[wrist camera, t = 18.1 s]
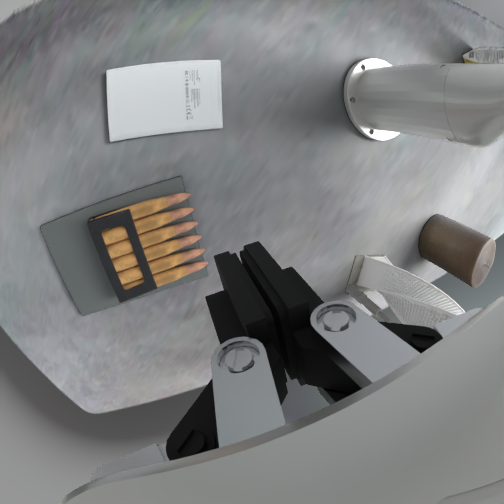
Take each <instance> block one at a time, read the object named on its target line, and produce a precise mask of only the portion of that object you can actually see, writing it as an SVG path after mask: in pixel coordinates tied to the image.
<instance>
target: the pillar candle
mask: <svg viewBox="0 0 504 504" xmlns="http://www.w3.org/2000/svg"><path fill="white" fill-rule="evenodd" d="M495 246H496V244H495V240H494V239H492V238H490V237H488V236H486V235H484V234H482V233H480V232H478V231H476V230H474V229H471V228H469V227H467V226H465V225H463V224H461V223H459V222H456V221H454V220H452V219H449V218H447V217H445V216H443V215H439V214H437V215H434V216H432V217H431V218H430V219H429V220H428V222H427V223H426V225H425V227H424V229H423V231H422V233H421V236H420V240H419V252H420V255H421V257H424V258H425V259H427V260H428V261H430V262H432V263H434V264H435V265H437V266H439V267H440V268H442V269H444V270H445V271H447V272H448V273H451V274H452V275H454V276H455V277H457V278H459V279H460V280H462V281H463V282H465V283H466V284H468V285H470V286H471V287H473V288H476V287H478V286H479V285H480V284H481V283H482V282H483V281H484V279H485V278H486V276H487V274H488V272H489V270H490V268H491V266H492V263H493V260H494V256H495V249H496V247H495Z"/></svg>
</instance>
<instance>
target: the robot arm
mask: <svg viewBox="0 0 504 504" xmlns="http://www.w3.org/2000/svg"><path fill="white" fill-rule="evenodd" d="M344 102H345V106H346V110H347V113H348V115H349V118H350V120H351V121H352V123H353V124H354V126H355V127H356V128H357V129H358V131H359V132H361V133H362V134H363V135H364V136H366V137H368V138H370V139H374V140H380V141H385V140H389V139H392V138H394V137H395V136H397V135H398V134H399V133H404V134H410V135H416V136H422V137H427V138H433V139H438V140H443V141H448V142H452V143H457V144H461V145H466V146H470V147H475V148H484V147H488V146H491V145H493V144H495V143H496V142H497V141H499V140H500V139H501V138H502V137H503V136H504V64H468V63H440V64H414V65H400V66H392V65H390V64H389V63H388V62H386V61H384V60H382V59H378V58H368V59H363V60H361V61H358V62H357V63H356V64H354V65H353V66H352V67H351V69H350V70H349V72H348V74H347V76H346V79H345V84H344ZM240 257H241V261H242V263H241V261H240V260H239V258H238V256H237V255H236V253H234V254H231V255H230V253H229V251H227V252H224V253H221V254H218V255H215V256H214V259H215V262H216V265H217V269H218V272H219V275H220V278H221V282H222V285H223V288H224V290H223V291H220V292H218V293H215V294H212V295H209V296H206V297H205V298H206V301H207V304H208V308H209V311H210V314H211V317H212V320H213V323H214V326H215V329H216V333H217V336H218V339H219V342H220V345H219V347H218V348H217V349H216V350H215V351H214V353H213V355H212V359H211V367H212V379H211V381H210V382H209V383H208V385H207V386H206V387H205V389H204V390H203V392H202V393H201V394H200V396H199V397H198V399H197V400H196V401H195V402H194V404H193V405H192V407H191V408H190V409H189V410H188V412H187V413H186V415H185V416H184V417H183V418H182V420H181V421H180V422H179V424H178V425H177V427H176V428H175V429H174V430H173V432H172V433H171V435H170V436H169V438H168V440H167V442H166V443H164V444H162V445H158V444H156V443H155V444H153V445H151V446H148V447H146V448H144V449H142V450H139V451H137V452H135V453H132V454H130V455H127V456H125V457H122V458H119V459H117V460H114V461H112V462H109V463H106V464H104V465H102V466H100V467H98V468H97V469H96V470H95V472H94V473H93V475H92V478H91V482H89V483H86V484H84V485H82V486H80V487H79V488H77V489H75V490H73V491H72V492H70V493H69V494H67V495H66V496H65V497H64V498H63V499H62V500H61V501H60V502H59V503H58V504H504V295H503V296H501V297H500V298H498V299H497V300H495V301H493V302H491V303H490V304H489V305H487V306H486V307H484V308H475V309H472V310H470V311H467V312H465V313H463V314H460V315H458V316H455V317H453V318H450V319H448V320H445V321H443V322H440V323H437V324H435V325H434V327H433V329H432V328H430V327H425V326H417V325H407V324H396V323H388V322H379V321H376V320H375V319H373V318H372V317H371V316H369V315H368V314H367V313H365V312H364V311H362V310H361V309H360V308H358V307H357V306H356V305H354V304H352V303H350V302H346V301H337V300H335V301H329V302H326V303H324V302H323V301H322V300H321V299H320V297H319V296H318V295H317V294H316V293H315V292H314V291H313V290H312V288H311V287H310V286H309V285H308V284H307V283H306V282H305V281H304V279H303V278H302V277H301V276H300V275H299V274H298V273H297V272H296V270H295V269H294V268H292V267H289V268H286V269H283V270H282V269H281V267H280V266H279V265H278V264H277V263H276V261H275V260H274V259H273V258H272V257H271V255H270V254H269V253H268V252H267V251H266V249H265V248H264V247H263V246H262V244H261V243H260V242H259V241H257V242H254V243H251V244H248V245H245V246H244V250H243V251H240ZM284 368H285V369H284ZM285 370H286V372H287V373H288V375H289V377H290V379H291V380H293V379H295V378H297V380H298V381H299V383H300V385H301V386H302V385H305V384H308V385H312V386H317V390H318V391H319V393H320V394H321V396H322V397H323V398H324V399H325V400H326V401H327V402H328V403H329V404H330V406H328V407H325V408H323V409H321V410H319V411H317V412H315V413H313V414H310V415H308V416H305V417H303V418H301V419H298V420H296V421H294V422H291V423H289V424H285V420H284V416H283V412H282V409H281V404H282V403H283V401H284V399H285V397H286V395H287V393H288V391H287V387H286V382H287V378H286V374H285Z"/></svg>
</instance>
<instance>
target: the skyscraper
mask: <svg viewBox="0 0 504 504" xmlns="http://www.w3.org/2000/svg"><path fill="white" fill-rule="evenodd" d="M374 290H376V291H378V292H379V293H381V294H382V295H383V297H384V299H385V300H386V302H387V303H388V305H389V306H390V308H391V309H392V311H393V312H394V313H395V315H396V316H397V317H398V318H399V320H400V321H401V322H402V323H403V324H407V325H417V326H425V327H430V328H432V329H433V327H434V325H435V324H437V323H440V322H443V321H445V320H448V319H450V318H453V317H455V316H458V315H460V314H463V313H465V311H464V310H463V309H462V308H461V307H460V306H459V305H458V304H457V303H456V302H455V301H454V300H453V299H451V298H450V297H449V296H448V295H447V294H445V293H444V292H443V291H441V290H440V289H438V288H437V287H435V286H434V285H432V284H431V283H429V282H427V281H425V280H424V279H422V278H420V277H418V276H416V275H414V274H412V273H410V272H408V271H405V270H403V269H401V268H398V267H396V266H393V264H392V263H391V262H390V261H389V259H388V258H387V257H386V256H385V255H363V256H355V260H354V264H353V267H352V271H351V274H350V278H349V281H348V284H347V288H346V291H345V294H350V295H351V296H352V297H354V298H355V299H356V300H357V301H358V302H359V303H361V304H363V305H364V306H365V307H366V308H367V309H368V310H369V311H370V312H372V313H373V314H374V315H375V316H376V317H381V318H382V319H383V320H384V321H385V322H388V323H391V322H392V321H391V320H390V319H389V318H388V317H387V316H385V315H384V314H383V313H382V312H383V310H382V309H381V308H379V307H378V306H377V305H376V304H375V303H373V302H372V301H371V300H370V299H369V298H367V296H366V295H365V294H364V293H363V292H367V291H374Z"/></svg>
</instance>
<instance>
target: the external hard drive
mask: <svg viewBox="0 0 504 504" xmlns="http://www.w3.org/2000/svg"><path fill="white" fill-rule="evenodd" d="M106 78H107V108H108V124H109V137H110V142H113V141H119V140H124V139H131V138H137V137H144V136H151V135H158V134H166V133H174V132H184V131H194V130H205V129H218V128H223V118H222V91H221V62H220V60H190V61H174V62H161V63H152V64H143V65H135V66H128V67H122V68H116V69H110V70H107V72H106Z"/></svg>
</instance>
